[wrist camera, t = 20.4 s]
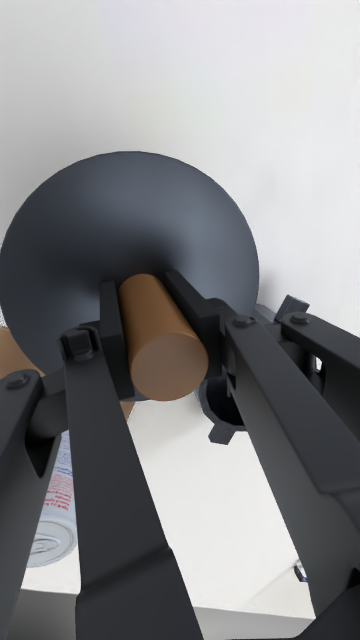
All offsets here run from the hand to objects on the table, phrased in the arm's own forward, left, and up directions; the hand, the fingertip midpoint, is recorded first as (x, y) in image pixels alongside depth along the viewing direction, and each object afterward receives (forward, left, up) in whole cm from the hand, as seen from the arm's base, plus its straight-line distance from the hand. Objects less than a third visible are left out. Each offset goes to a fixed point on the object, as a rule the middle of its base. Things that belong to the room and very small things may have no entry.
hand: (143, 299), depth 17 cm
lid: (0, 0, -1) cm, 1 cm away
